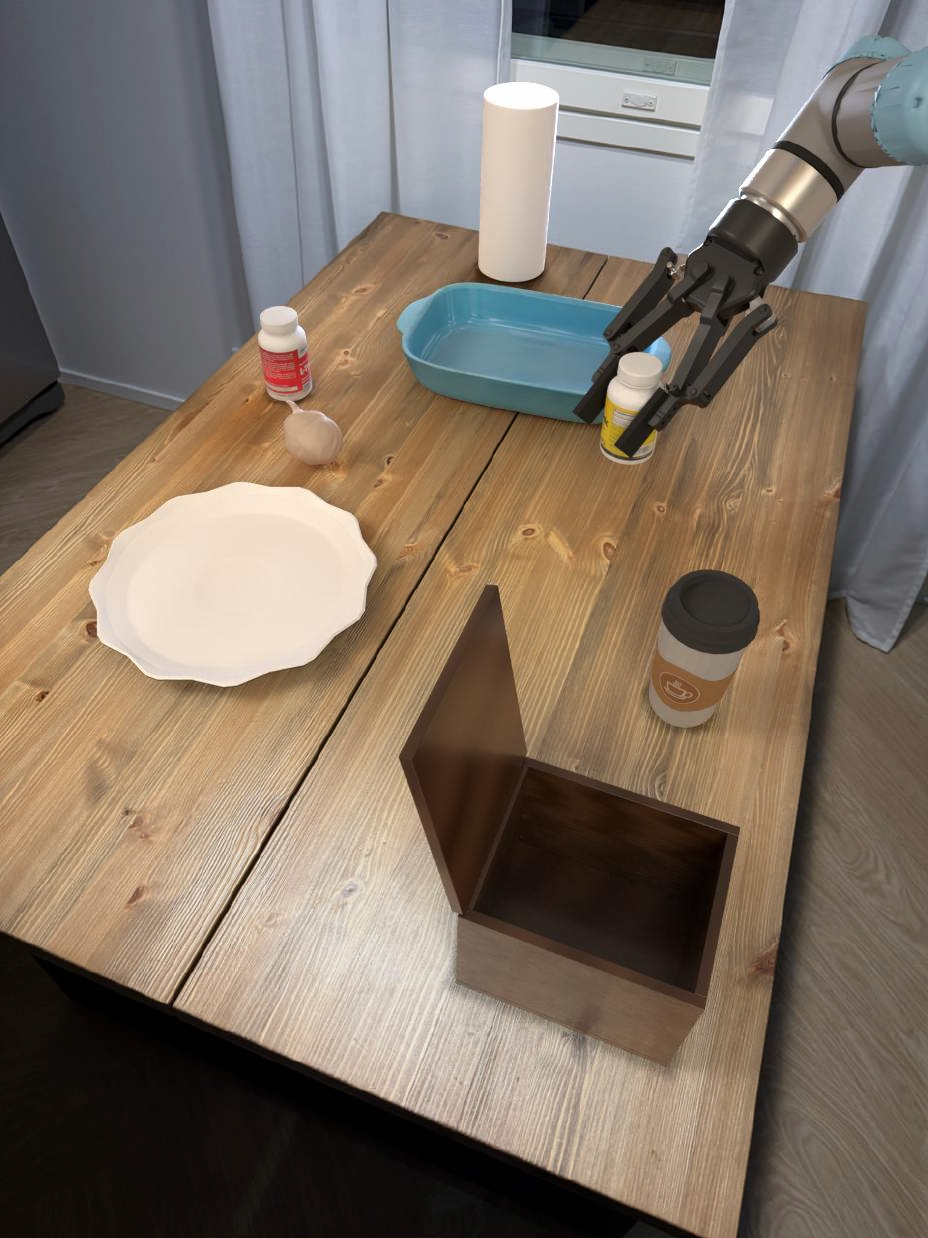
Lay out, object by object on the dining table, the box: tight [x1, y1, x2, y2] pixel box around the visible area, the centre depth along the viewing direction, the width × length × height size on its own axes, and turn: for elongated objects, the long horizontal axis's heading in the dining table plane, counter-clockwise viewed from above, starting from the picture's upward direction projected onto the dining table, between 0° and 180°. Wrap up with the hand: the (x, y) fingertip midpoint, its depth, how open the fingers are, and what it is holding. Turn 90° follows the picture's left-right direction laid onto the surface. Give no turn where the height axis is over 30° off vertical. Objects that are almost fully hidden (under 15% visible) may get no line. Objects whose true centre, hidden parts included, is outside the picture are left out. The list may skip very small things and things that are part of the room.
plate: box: [88, 481, 378, 689], centre depth 95 cm, size 29×29×2 cm
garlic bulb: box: [282, 400, 344, 466], centre depth 108 cm, size 7×6×8 cm
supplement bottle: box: [599, 352, 666, 466], centre depth 85 cm, size 5×5×10 cm
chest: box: [455, 755, 741, 1068], centre depth 67 cm, size 17×14×13 cm
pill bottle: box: [257, 305, 313, 402], centre depth 116 cm, size 6×6×11 cm
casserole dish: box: [396, 282, 672, 425], centre depth 120 cm, size 37×22×7 cm, turn 72°
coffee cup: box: [648, 568, 761, 729], centre depth 81 cm, size 8×8×15 cm
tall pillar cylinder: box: [477, 81, 560, 283], centre depth 135 cm, size 11×11×25 cm
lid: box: [397, 583, 528, 915], centre depth 57 cm, size 18×14×1 cm
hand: (601, 434), depth 85 cm, fingers closed on supplement bottle, 5 cm apart
